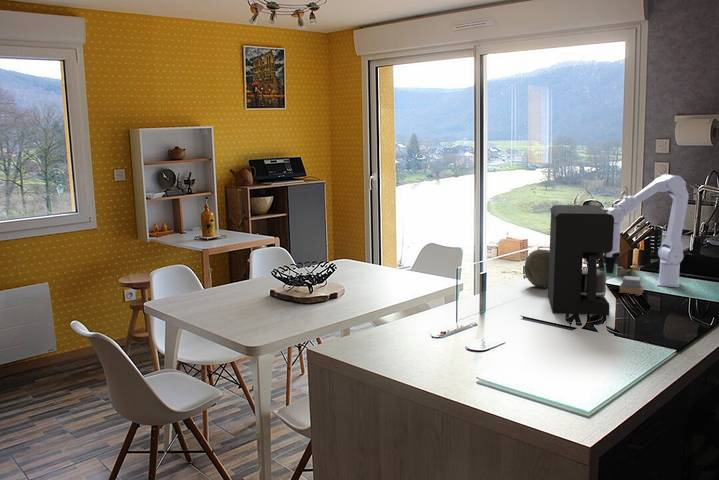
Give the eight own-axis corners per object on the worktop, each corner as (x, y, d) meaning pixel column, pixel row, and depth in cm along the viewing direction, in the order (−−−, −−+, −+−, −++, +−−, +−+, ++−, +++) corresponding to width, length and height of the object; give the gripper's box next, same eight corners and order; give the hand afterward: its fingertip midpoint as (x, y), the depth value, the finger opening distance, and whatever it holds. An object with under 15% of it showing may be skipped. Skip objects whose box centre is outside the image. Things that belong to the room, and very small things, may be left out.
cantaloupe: (562, 291, 264) (564, 253, 262) (525, 290, 266) (526, 252, 264) (558, 283, 278) (559, 246, 275) (522, 282, 280) (523, 246, 278)
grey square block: (623, 283, 265) (623, 275, 265) (640, 284, 263) (640, 277, 263) (622, 286, 260) (622, 279, 260) (639, 288, 258) (639, 280, 257)
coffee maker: (613, 319, 227) (619, 214, 221) (552, 316, 230) (556, 213, 225) (601, 298, 254) (605, 204, 248) (547, 296, 258) (550, 204, 252)
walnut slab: (621, 290, 267) (621, 282, 267) (643, 292, 264) (644, 284, 263) (619, 294, 260) (619, 287, 260) (641, 296, 257) (642, 289, 256)
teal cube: (605, 273, 275) (605, 262, 274) (616, 274, 273) (617, 263, 272) (603, 276, 271) (604, 265, 270) (615, 277, 269) (616, 265, 268)
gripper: (604, 234, 278) (602, 267, 280) (598, 240, 265) (597, 274, 267) (622, 235, 275) (620, 268, 277) (618, 241, 262) (616, 276, 264)
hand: (610, 271), depth 272 cm, fingers closed on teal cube, 4 cm apart
